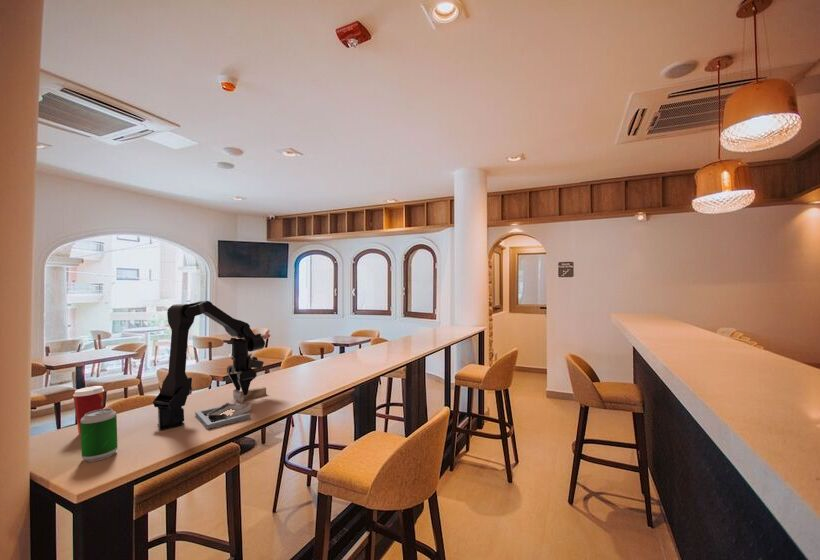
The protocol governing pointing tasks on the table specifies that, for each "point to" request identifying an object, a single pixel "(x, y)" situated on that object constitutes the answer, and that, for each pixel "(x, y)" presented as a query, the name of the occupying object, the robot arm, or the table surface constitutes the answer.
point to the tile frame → (210, 424)
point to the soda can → (98, 434)
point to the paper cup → (87, 402)
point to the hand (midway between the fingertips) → (242, 392)
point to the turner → (249, 394)
